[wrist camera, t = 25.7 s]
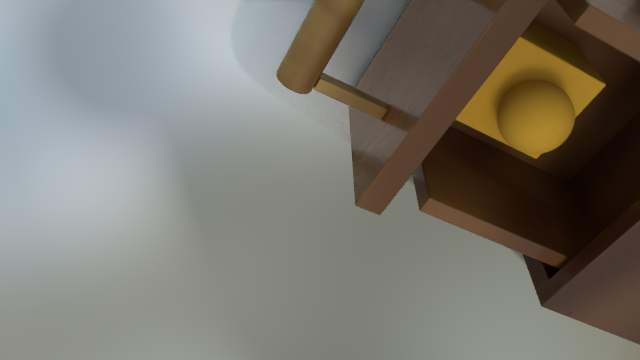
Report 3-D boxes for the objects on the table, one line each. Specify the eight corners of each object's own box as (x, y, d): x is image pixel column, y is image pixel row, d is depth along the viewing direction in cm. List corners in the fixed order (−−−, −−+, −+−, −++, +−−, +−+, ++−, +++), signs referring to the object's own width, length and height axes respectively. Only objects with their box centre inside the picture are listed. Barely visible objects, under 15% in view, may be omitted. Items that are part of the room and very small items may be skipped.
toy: (437, 77, 29) (461, 154, 24) (495, -2, 27) (535, 67, 22) (516, 117, 30) (554, 198, 26) (578, 46, 28) (633, 120, 23)
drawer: (262, 58, 30) (245, 161, 23) (386, -184, 23) (411, -137, 17) (553, 193, 35) (606, 308, 28) (719, 25, 29) (838, 123, 22)
